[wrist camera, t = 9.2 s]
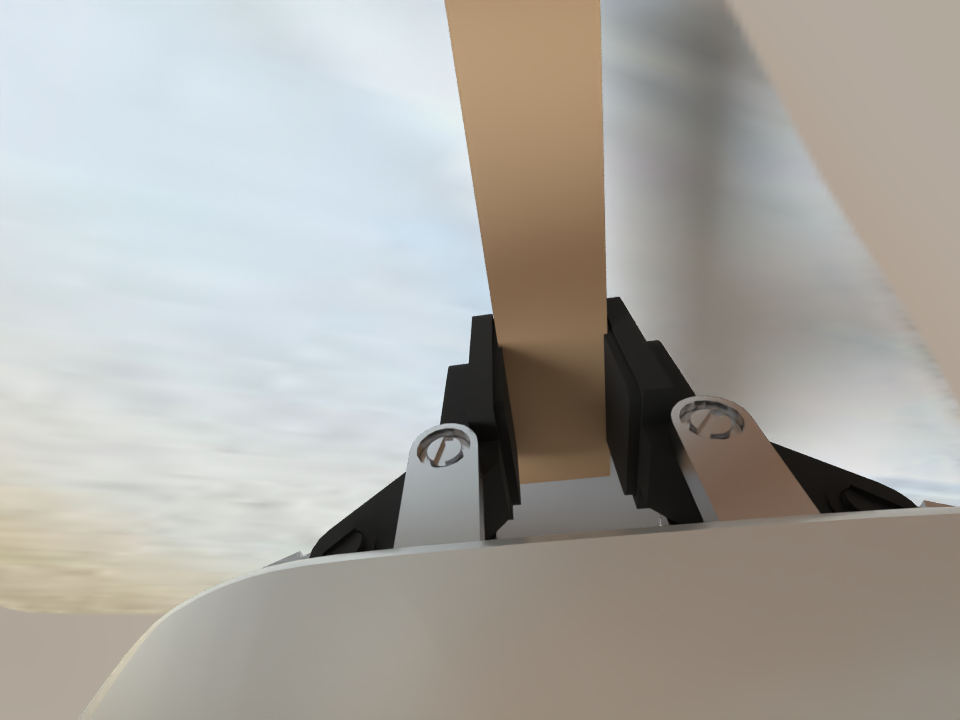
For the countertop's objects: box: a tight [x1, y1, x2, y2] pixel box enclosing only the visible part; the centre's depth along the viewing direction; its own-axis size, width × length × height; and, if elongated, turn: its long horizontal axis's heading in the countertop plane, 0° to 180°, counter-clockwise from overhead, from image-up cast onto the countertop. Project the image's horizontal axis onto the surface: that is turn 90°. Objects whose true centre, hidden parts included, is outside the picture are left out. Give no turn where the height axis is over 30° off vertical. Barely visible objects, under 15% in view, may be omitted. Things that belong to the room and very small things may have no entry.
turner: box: [445, 0, 660, 539], centre depth 11 cm, size 18×6×3 cm, turn 9°
